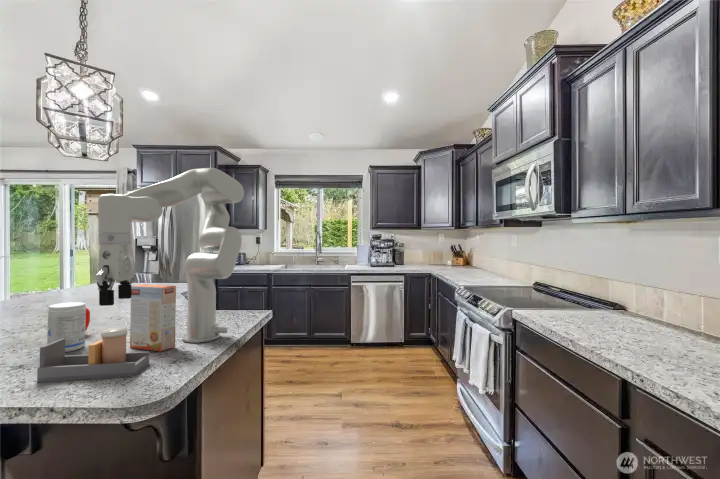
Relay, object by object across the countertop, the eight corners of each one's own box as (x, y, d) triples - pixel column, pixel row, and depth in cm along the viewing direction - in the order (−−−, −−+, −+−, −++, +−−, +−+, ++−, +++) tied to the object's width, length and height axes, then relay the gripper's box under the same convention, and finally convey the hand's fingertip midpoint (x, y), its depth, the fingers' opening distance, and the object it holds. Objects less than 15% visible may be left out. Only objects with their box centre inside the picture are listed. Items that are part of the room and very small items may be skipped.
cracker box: (176, 347, 115) (177, 285, 115) (160, 352, 109) (161, 287, 110) (145, 343, 120) (146, 283, 120) (129, 348, 114) (129, 285, 114)
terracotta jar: (130, 363, 97) (131, 327, 97) (120, 370, 91) (121, 332, 91) (107, 364, 96) (108, 327, 96) (96, 371, 90) (96, 333, 90)
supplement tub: (44, 349, 112) (45, 304, 112) (81, 343, 119) (82, 300, 119) (50, 355, 106) (50, 308, 106) (88, 348, 113) (89, 304, 113)
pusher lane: (149, 363, 100) (149, 334, 100) (133, 376, 90) (134, 343, 90) (62, 368, 95) (63, 337, 95) (37, 382, 86) (37, 348, 86)
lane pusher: (108, 362, 96) (109, 337, 96) (94, 371, 90) (94, 345, 90) (102, 362, 96) (103, 338, 96) (88, 372, 89) (88, 345, 89)
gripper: (114, 240, 86) (115, 307, 86) (144, 239, 103) (144, 295, 103) (80, 240, 85) (81, 309, 85) (116, 239, 102) (117, 296, 102)
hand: (116, 301), depth 94 cm, fingers open, 9 cm apart
